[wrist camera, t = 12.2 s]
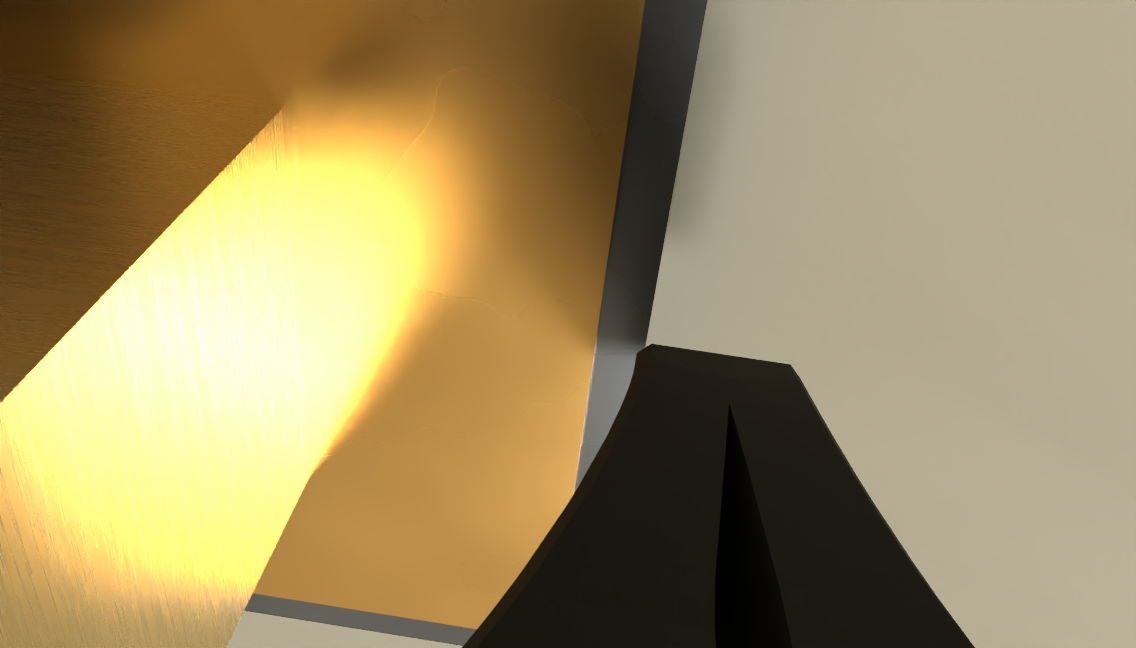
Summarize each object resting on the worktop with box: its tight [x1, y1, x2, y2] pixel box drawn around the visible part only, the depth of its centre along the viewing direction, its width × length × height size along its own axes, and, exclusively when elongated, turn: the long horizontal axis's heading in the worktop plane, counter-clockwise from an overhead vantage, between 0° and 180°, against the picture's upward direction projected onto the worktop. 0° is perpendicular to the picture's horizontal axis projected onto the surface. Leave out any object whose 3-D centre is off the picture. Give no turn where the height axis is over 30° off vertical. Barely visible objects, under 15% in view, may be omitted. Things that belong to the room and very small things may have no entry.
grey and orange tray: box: [0, 0, 707, 646], centre depth 9 cm, size 10×12×4 cm
